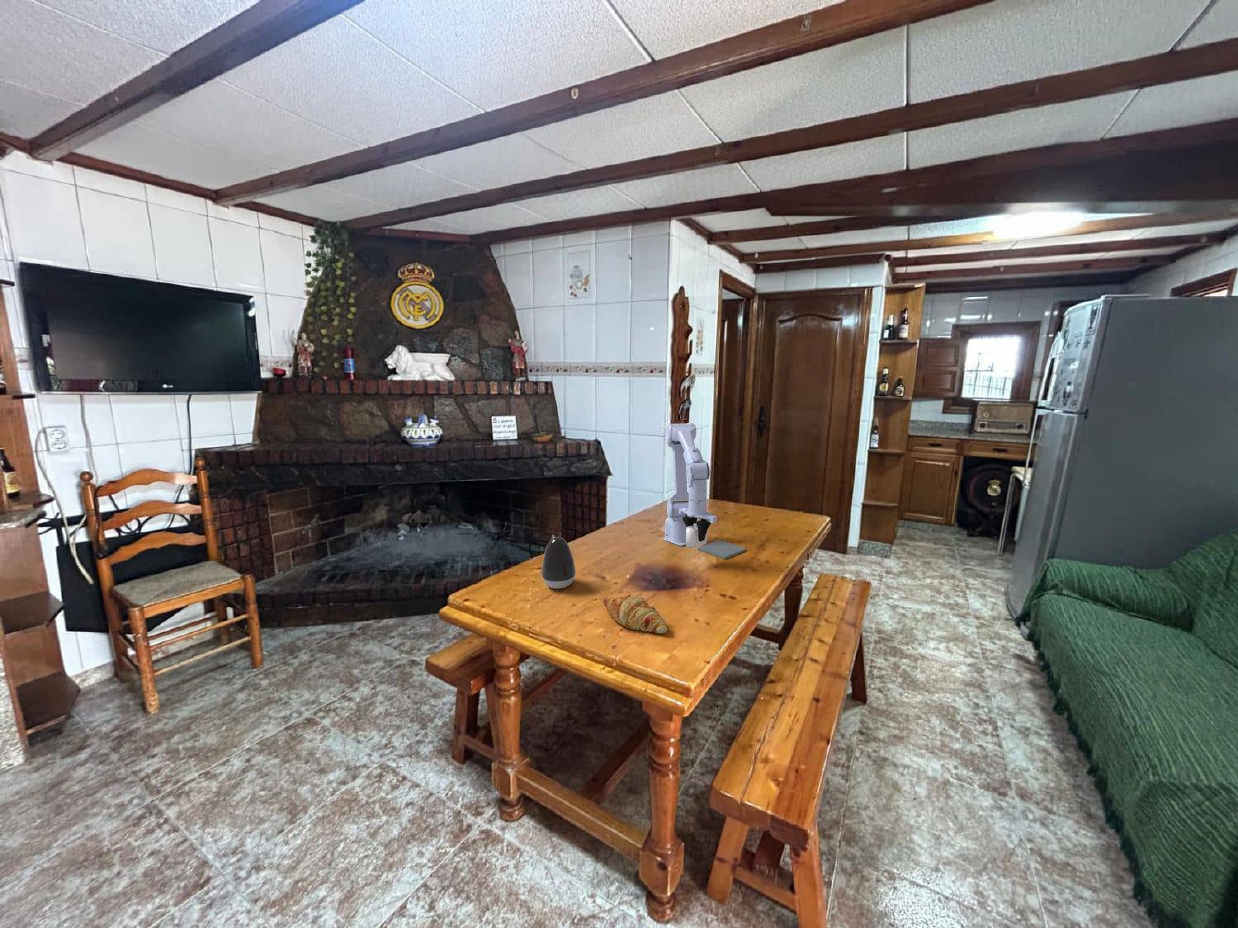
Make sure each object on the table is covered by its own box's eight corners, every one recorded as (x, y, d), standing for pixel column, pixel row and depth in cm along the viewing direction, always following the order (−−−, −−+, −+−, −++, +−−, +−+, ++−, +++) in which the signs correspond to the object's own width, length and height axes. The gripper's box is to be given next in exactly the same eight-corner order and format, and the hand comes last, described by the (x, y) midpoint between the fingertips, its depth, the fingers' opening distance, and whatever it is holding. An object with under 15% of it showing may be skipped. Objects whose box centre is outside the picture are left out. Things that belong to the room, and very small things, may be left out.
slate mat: (697, 549, 178) (697, 547, 178) (719, 541, 186) (719, 539, 186) (724, 559, 169) (724, 557, 169) (746, 550, 177) (746, 548, 177)
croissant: (673, 643, 126) (682, 612, 127) (651, 641, 118) (661, 608, 119) (610, 615, 139) (619, 587, 140) (587, 611, 132) (597, 582, 133)
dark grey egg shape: (570, 575, 158) (569, 529, 155) (580, 589, 148) (578, 540, 145) (538, 581, 154) (536, 534, 151) (546, 595, 145) (544, 545, 142)
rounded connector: (683, 545, 163) (683, 525, 162) (700, 539, 169) (701, 519, 167) (691, 548, 160) (692, 527, 159) (709, 542, 166) (709, 522, 164)
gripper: (672, 496, 164) (672, 536, 167) (706, 506, 153) (705, 547, 156) (687, 493, 169) (686, 531, 172) (721, 501, 158) (720, 542, 161)
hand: (696, 539), depth 164 cm, fingers closed on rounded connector, 4 cm apart
